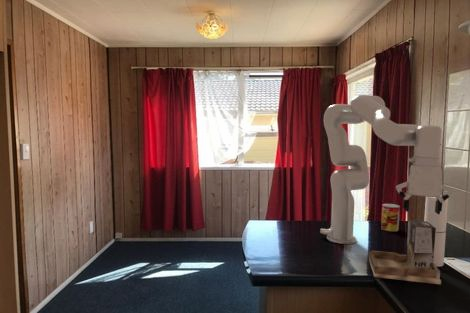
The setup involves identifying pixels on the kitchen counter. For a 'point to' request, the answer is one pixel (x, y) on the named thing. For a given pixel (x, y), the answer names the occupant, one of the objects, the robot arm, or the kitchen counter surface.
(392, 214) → the canned food
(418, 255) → the coffee box
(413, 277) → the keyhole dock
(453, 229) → the kitchen counter surface
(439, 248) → the cylindrical container
